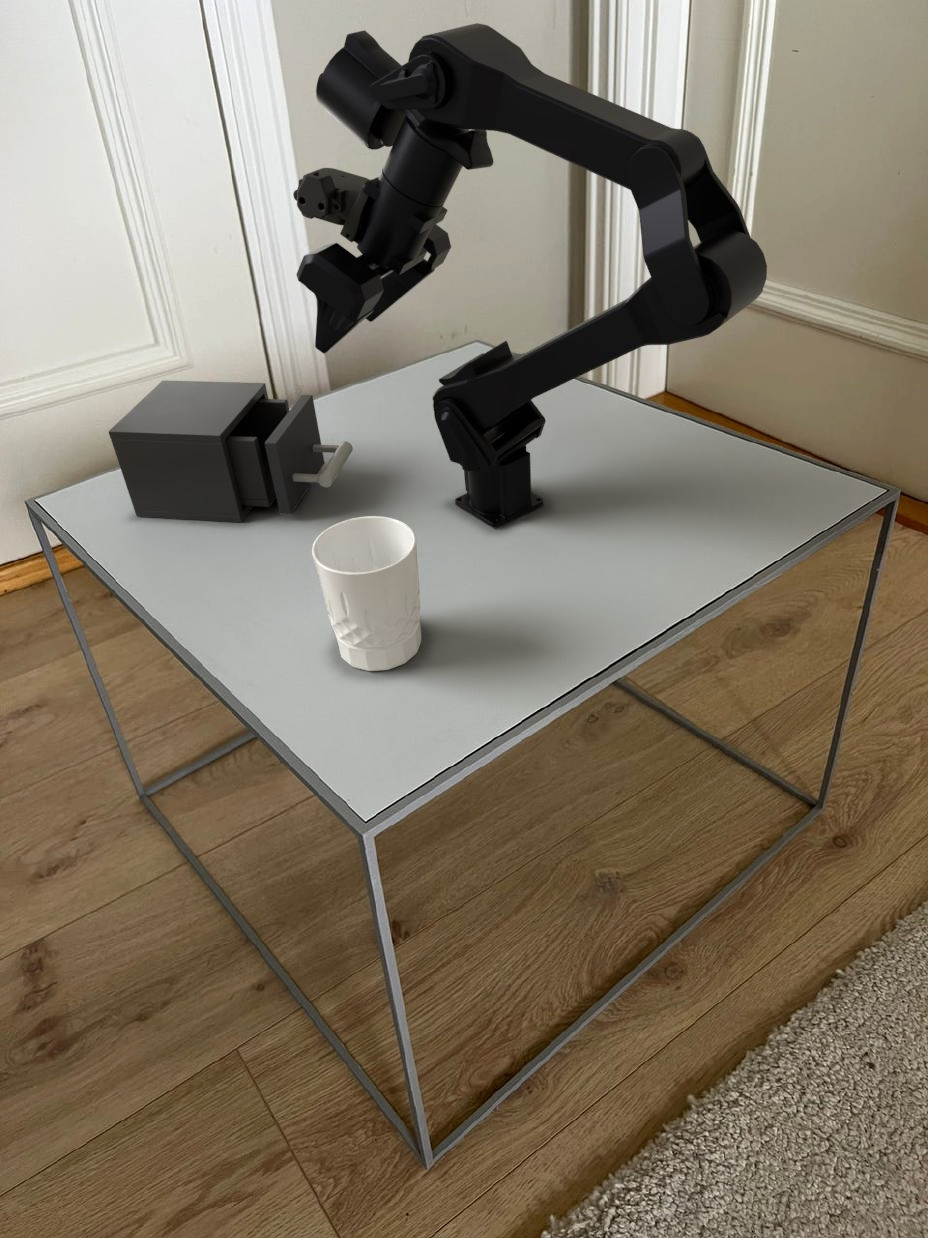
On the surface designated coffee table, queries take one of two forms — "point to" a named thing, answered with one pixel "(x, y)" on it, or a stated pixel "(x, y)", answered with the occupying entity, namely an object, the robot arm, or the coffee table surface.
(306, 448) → the drawer
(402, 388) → the coffee table surface
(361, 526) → the white cup
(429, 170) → the robot arm
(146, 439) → the cabinet
